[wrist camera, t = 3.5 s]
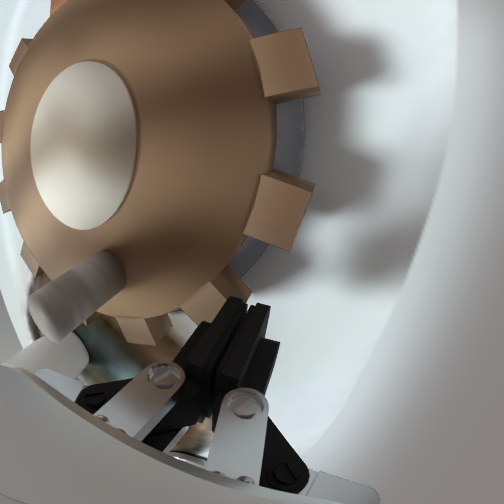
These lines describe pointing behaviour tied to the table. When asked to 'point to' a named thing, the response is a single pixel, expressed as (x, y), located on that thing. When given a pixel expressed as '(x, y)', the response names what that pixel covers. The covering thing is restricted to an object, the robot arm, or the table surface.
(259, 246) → the sprocket stand
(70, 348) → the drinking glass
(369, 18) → the table surface
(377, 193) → the table surface
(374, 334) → the table surface
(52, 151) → the sprocket
